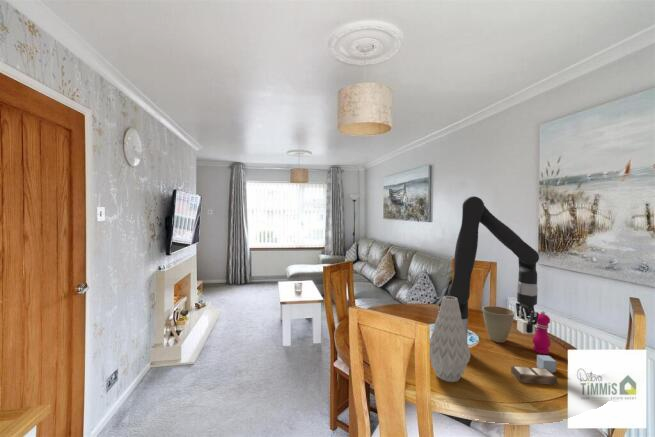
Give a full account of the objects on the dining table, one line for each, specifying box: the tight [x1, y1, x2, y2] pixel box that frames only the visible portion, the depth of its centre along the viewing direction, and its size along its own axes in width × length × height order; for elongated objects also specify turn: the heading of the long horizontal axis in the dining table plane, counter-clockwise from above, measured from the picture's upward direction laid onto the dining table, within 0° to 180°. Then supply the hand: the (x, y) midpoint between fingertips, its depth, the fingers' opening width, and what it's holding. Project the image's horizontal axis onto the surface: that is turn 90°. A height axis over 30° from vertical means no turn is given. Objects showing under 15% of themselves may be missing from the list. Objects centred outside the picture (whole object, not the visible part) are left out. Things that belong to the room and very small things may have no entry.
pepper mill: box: [532, 310, 552, 355], centre depth 151 cm, size 7×7×20 cm
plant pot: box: [482, 305, 515, 343], centre depth 163 cm, size 15×15×16 cm
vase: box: [429, 295, 471, 383], centre depth 126 cm, size 17×17×33 cm
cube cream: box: [516, 317, 536, 335], centre depth 137 cm, size 5×5×5 cm
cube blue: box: [536, 354, 557, 373], centre depth 134 cm, size 5×5×5 cm
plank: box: [510, 365, 558, 385], centre depth 126 cm, size 14×7×3 cm, turn 84°
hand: (525, 330), depth 137 cm, fingers closed on cube cream, 5 cm apart
